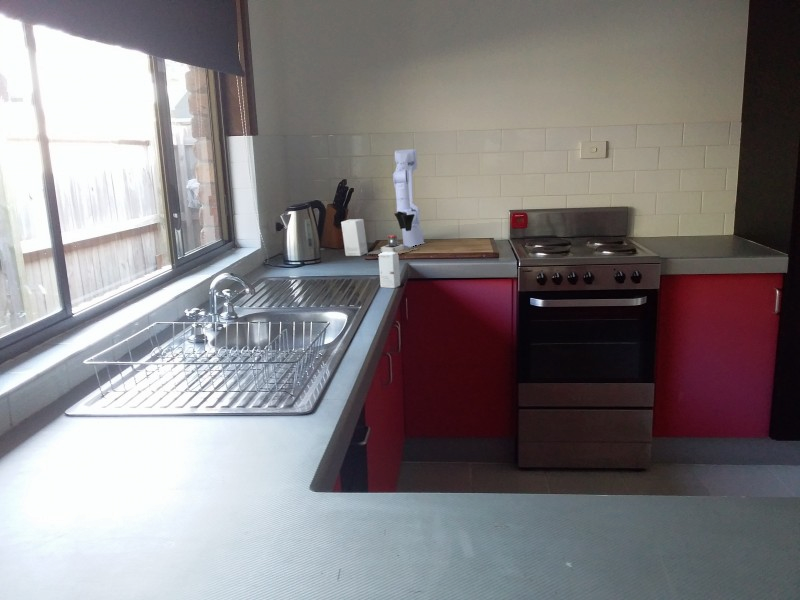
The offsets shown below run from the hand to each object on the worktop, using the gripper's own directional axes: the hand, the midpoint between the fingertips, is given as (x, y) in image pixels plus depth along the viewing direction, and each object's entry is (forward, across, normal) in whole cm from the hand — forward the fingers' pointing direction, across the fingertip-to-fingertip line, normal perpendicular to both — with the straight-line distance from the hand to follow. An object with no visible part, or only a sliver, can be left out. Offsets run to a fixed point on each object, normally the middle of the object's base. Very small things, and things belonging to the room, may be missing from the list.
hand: (405, 229), depth 303 cm
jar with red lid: (+9, +2, +6) cm, 11 cm away
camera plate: (+10, +4, +6) cm, 12 cm away
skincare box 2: (+10, -57, +26) cm, 63 cm away
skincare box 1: (+10, +11, +20) cm, 25 cm away
